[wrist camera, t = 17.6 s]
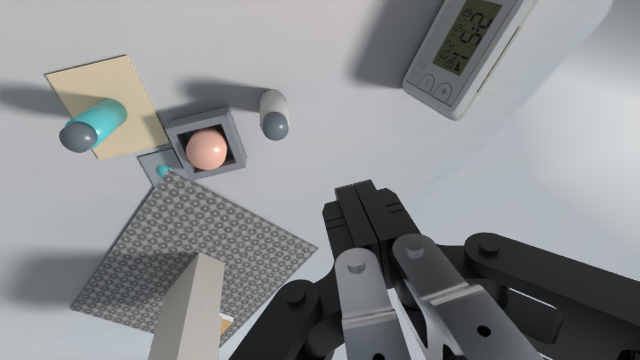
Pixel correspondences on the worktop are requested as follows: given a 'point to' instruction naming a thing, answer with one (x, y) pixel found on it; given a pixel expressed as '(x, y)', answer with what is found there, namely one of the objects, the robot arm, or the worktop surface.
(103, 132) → the marker teal
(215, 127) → the button
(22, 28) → the worktop surface
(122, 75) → the sketch pad
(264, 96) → the marker grey
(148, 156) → the card
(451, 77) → the digital clock
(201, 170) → the button housing
